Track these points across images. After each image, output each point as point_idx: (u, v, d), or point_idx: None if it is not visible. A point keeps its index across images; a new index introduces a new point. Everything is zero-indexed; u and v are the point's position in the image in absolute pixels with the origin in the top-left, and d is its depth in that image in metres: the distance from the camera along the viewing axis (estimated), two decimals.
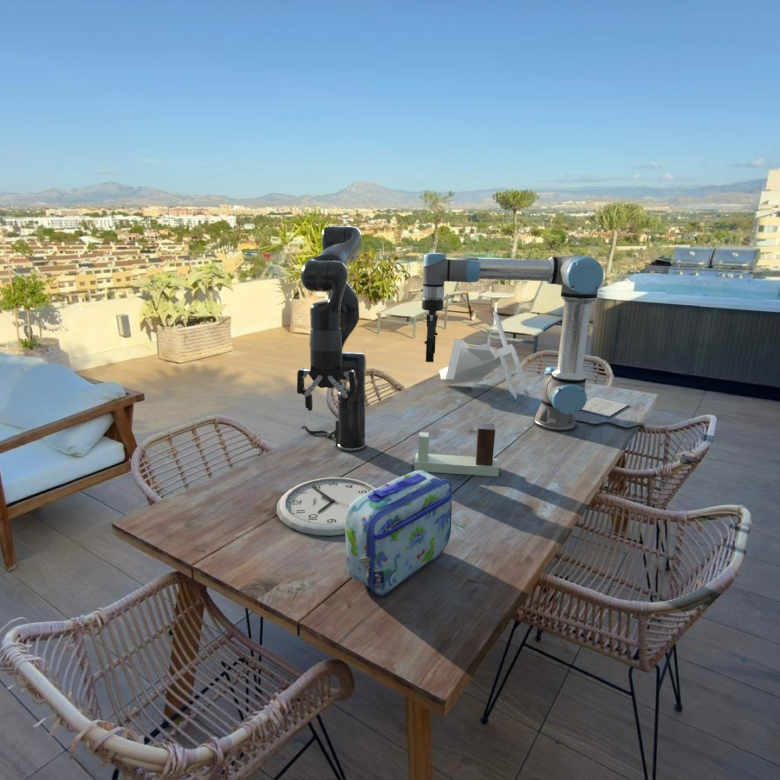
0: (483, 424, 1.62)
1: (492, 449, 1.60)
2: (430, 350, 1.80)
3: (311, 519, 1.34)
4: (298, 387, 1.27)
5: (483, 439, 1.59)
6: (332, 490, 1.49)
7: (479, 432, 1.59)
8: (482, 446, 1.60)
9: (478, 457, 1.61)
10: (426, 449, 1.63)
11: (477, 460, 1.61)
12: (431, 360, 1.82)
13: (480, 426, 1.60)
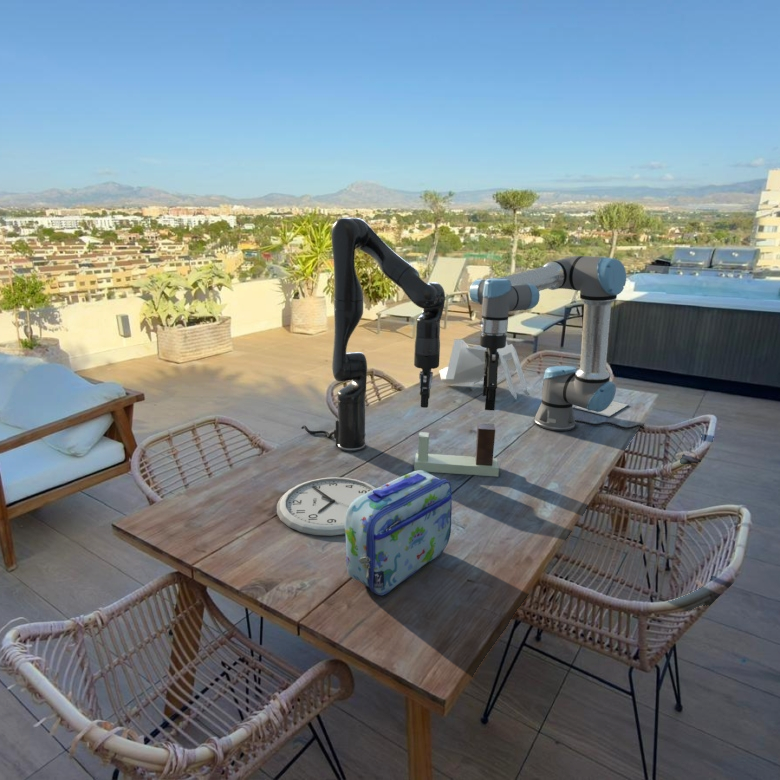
0: (483, 424, 1.62)
1: (492, 449, 1.60)
2: (491, 396, 1.49)
3: (311, 519, 1.34)
4: (428, 390, 1.52)
5: (483, 439, 1.59)
6: (332, 490, 1.49)
7: (479, 432, 1.59)
8: (482, 446, 1.60)
9: (478, 457, 1.61)
10: (426, 449, 1.63)
11: (477, 460, 1.61)
12: (492, 408, 1.51)
13: (481, 426, 1.60)
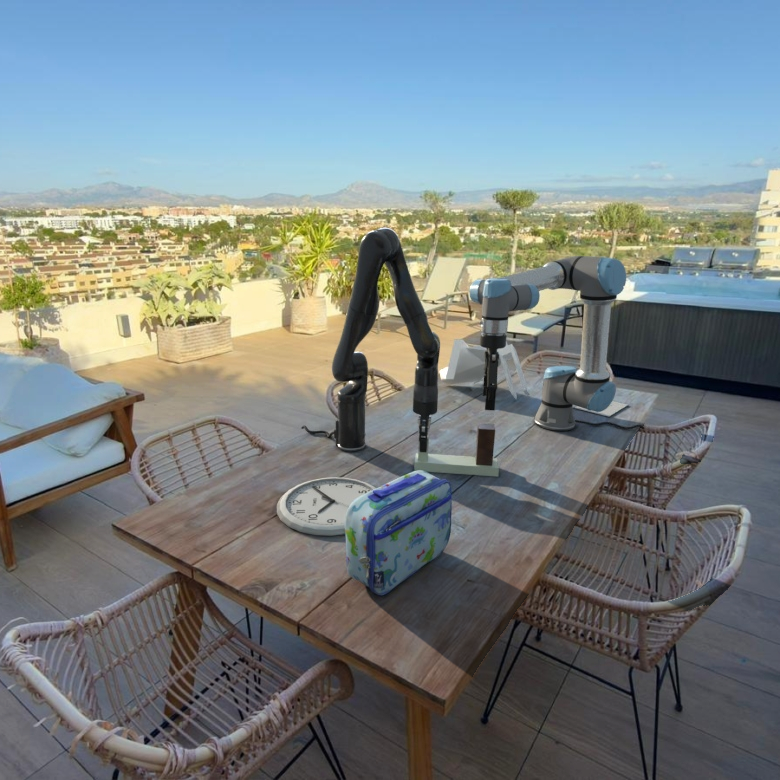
0: (483, 424, 1.62)
1: (492, 449, 1.60)
2: (491, 396, 1.49)
3: (311, 519, 1.34)
4: (427, 438, 1.58)
5: (483, 439, 1.59)
6: (332, 490, 1.49)
7: (479, 432, 1.59)
8: (482, 446, 1.60)
9: (478, 457, 1.61)
10: None
11: (477, 460, 1.61)
12: (492, 408, 1.51)
13: (481, 426, 1.60)
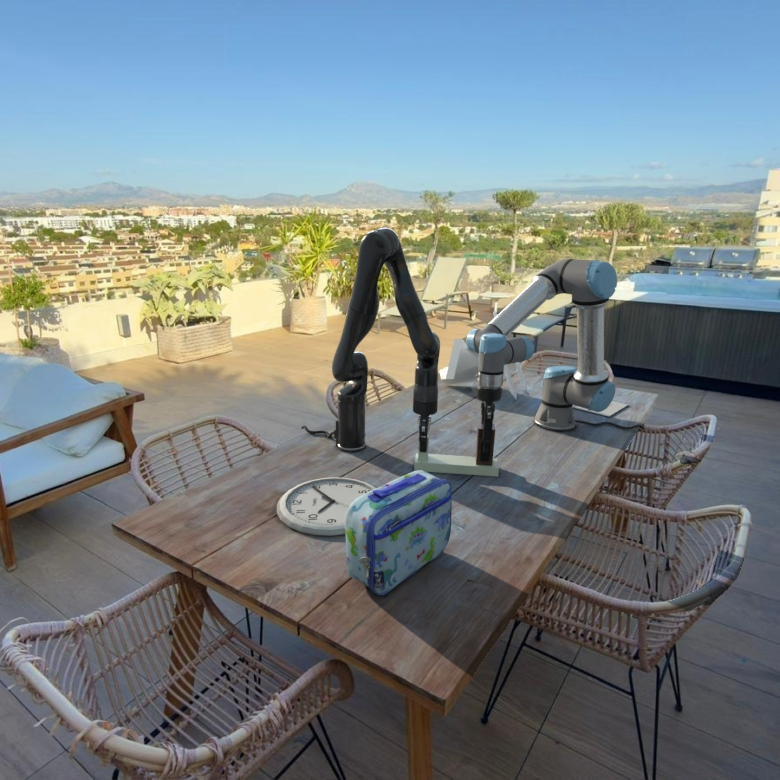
0: None
1: (492, 449, 1.60)
2: (486, 449, 1.58)
3: (311, 519, 1.34)
4: (427, 438, 1.58)
5: None
6: (332, 490, 1.49)
7: (479, 432, 1.59)
8: None
9: (478, 457, 1.61)
10: None
11: (477, 460, 1.61)
12: (486, 459, 1.60)
13: (481, 426, 1.60)
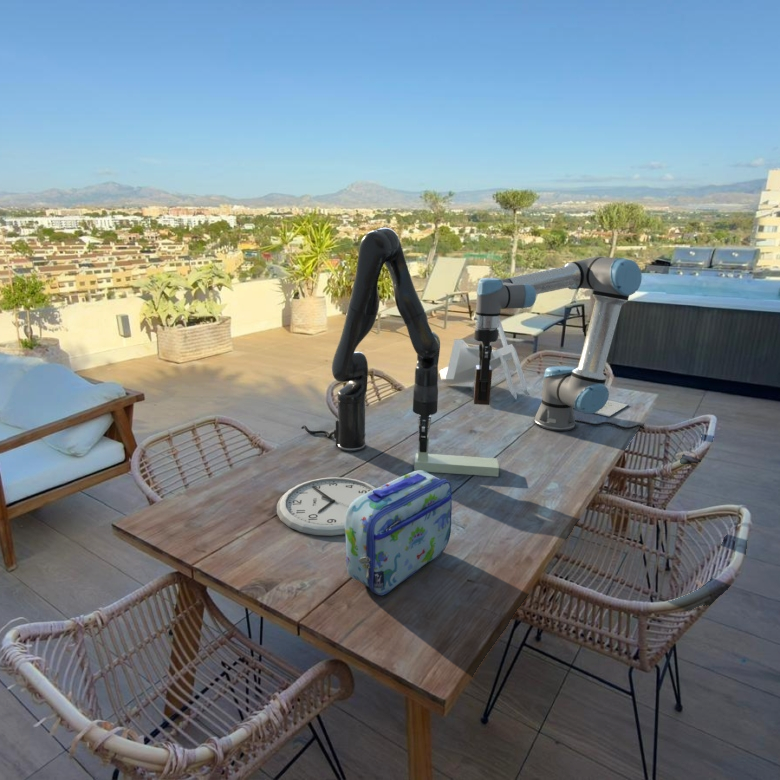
0: None
1: (489, 388, 1.70)
2: (484, 388, 1.68)
3: (311, 519, 1.34)
4: None
5: None
6: (332, 490, 1.49)
7: (477, 372, 1.68)
8: None
9: (476, 396, 1.71)
10: None
11: (475, 399, 1.71)
12: (484, 398, 1.70)
13: (478, 367, 1.70)
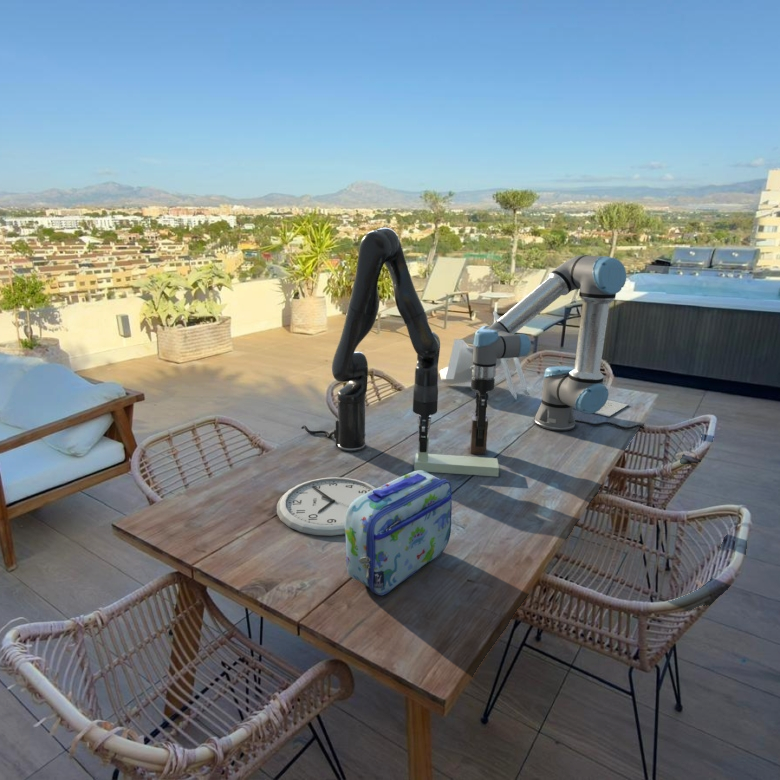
0: None
1: (485, 439, 1.75)
2: (481, 435, 1.71)
3: (311, 519, 1.34)
4: None
5: None
6: (332, 490, 1.49)
7: (473, 423, 1.74)
8: None
9: (472, 446, 1.76)
10: None
11: (472, 449, 1.77)
12: (481, 445, 1.73)
13: (475, 418, 1.75)
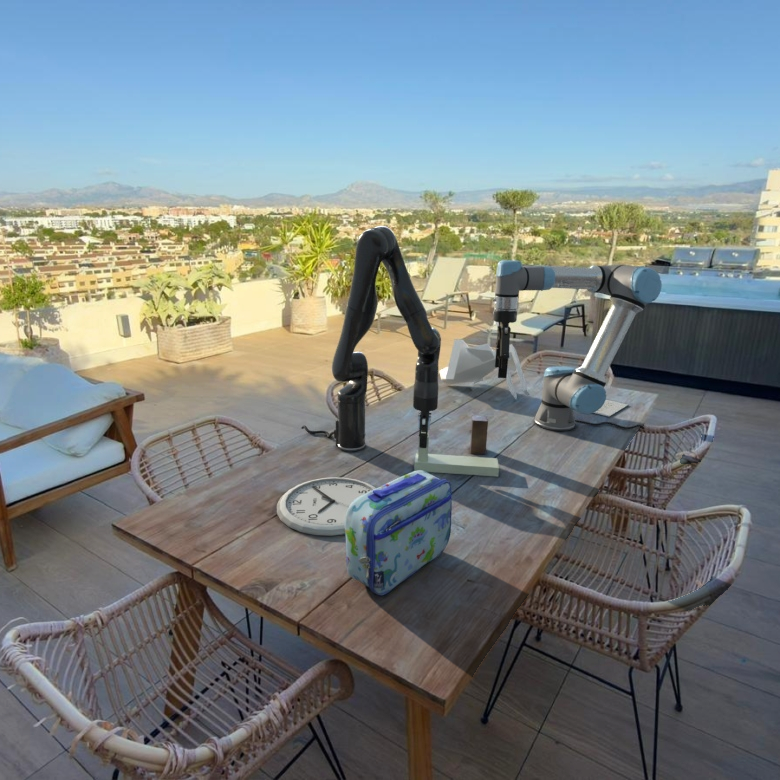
0: (477, 416, 1.77)
1: (485, 439, 1.75)
2: (504, 365, 1.67)
3: (311, 519, 1.34)
4: (427, 433, 1.57)
5: (477, 430, 1.74)
6: (332, 490, 1.49)
7: (473, 423, 1.74)
8: (476, 436, 1.75)
9: (472, 446, 1.76)
10: (426, 449, 1.63)
11: (472, 449, 1.77)
12: (504, 376, 1.69)
13: (475, 418, 1.75)
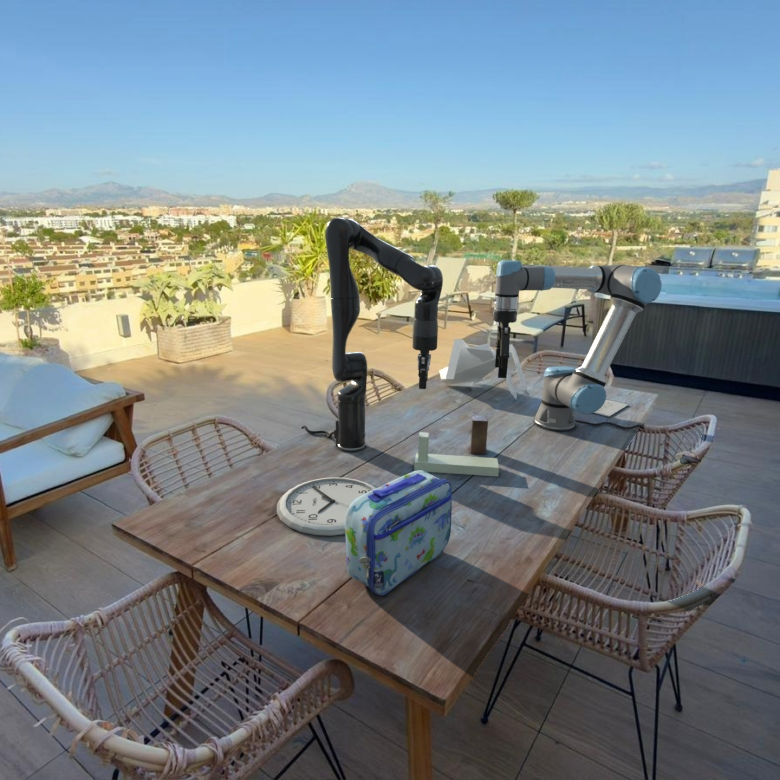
0: (477, 416, 1.77)
1: (485, 439, 1.75)
2: (504, 365, 1.67)
3: (311, 519, 1.34)
4: (426, 372, 1.55)
5: (477, 430, 1.74)
6: (332, 490, 1.49)
7: (473, 423, 1.74)
8: (476, 436, 1.75)
9: (472, 446, 1.76)
10: (426, 449, 1.63)
11: (472, 449, 1.77)
12: (504, 376, 1.69)
13: (475, 418, 1.75)
